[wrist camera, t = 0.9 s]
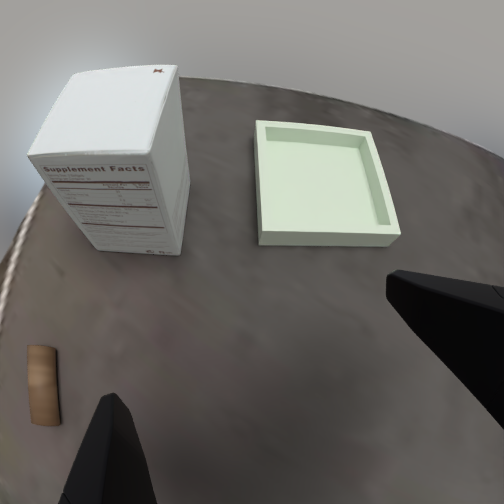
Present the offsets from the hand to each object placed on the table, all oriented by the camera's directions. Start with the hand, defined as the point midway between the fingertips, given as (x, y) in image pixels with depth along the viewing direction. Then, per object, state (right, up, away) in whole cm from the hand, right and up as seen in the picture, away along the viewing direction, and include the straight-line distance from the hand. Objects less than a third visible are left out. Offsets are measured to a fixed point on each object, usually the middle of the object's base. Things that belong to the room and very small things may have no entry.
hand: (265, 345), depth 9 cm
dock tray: (+6, +8, +20) cm, 22 cm away
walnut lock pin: (-16, -8, +11) cm, 21 cm away
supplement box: (-9, +6, +17) cm, 20 cm away
